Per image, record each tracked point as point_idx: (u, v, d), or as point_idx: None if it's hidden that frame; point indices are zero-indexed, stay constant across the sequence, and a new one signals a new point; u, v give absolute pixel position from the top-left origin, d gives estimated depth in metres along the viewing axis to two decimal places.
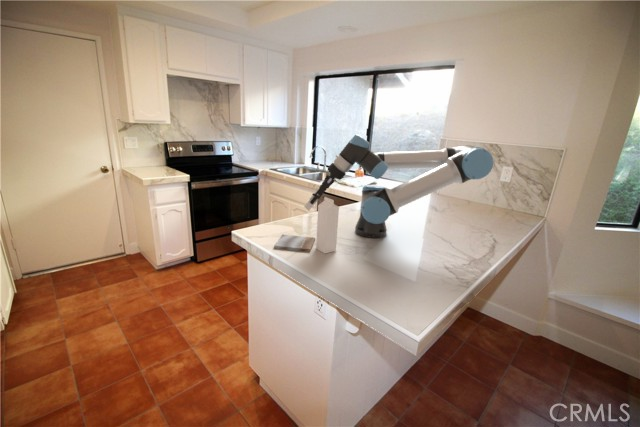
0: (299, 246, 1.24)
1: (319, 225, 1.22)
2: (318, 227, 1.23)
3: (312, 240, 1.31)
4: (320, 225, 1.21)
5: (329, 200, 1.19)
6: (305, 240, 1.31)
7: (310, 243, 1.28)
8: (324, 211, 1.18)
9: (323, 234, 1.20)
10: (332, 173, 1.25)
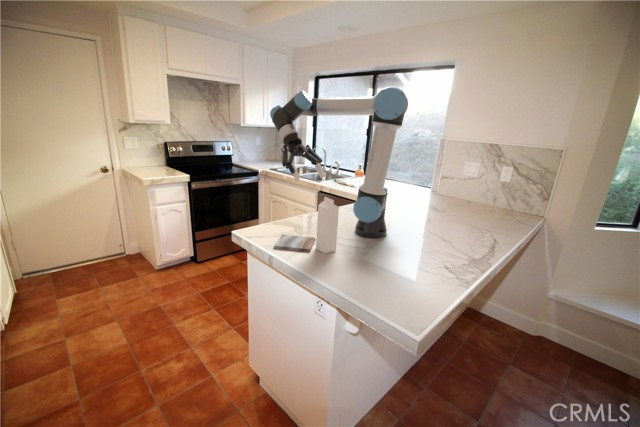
0: (299, 246, 1.24)
1: (319, 225, 1.22)
2: (318, 227, 1.23)
3: (312, 240, 1.31)
4: (320, 225, 1.21)
5: (329, 200, 1.19)
6: (305, 240, 1.31)
7: (310, 243, 1.28)
8: (324, 211, 1.18)
9: (323, 234, 1.20)
10: (285, 145, 1.28)
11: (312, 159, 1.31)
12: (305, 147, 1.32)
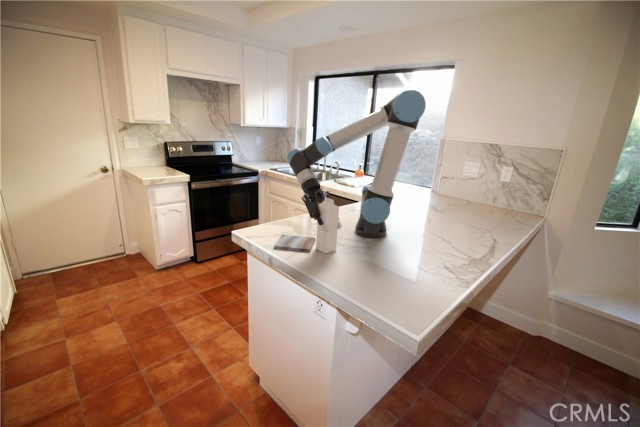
0: (299, 246, 1.24)
1: (319, 225, 1.22)
2: (318, 227, 1.23)
3: (312, 240, 1.31)
4: (320, 225, 1.21)
5: (329, 200, 1.19)
6: (305, 240, 1.31)
7: (310, 243, 1.28)
8: (324, 211, 1.18)
9: (323, 234, 1.20)
10: (304, 190, 1.24)
11: None
12: (324, 193, 1.28)
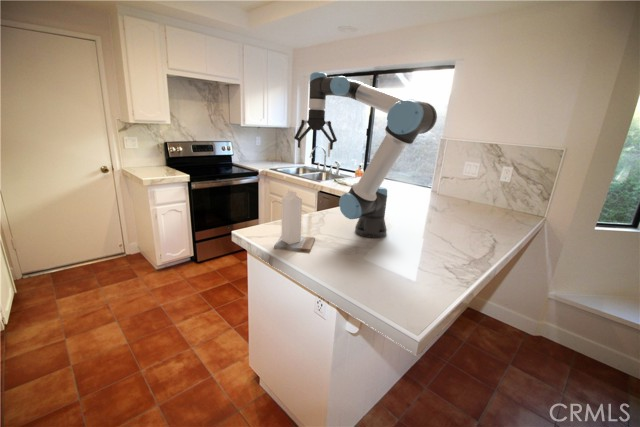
0: (299, 246, 1.24)
1: (283, 217, 1.25)
2: (282, 219, 1.26)
3: (312, 240, 1.31)
4: (284, 217, 1.25)
5: (292, 192, 1.23)
6: (305, 240, 1.31)
7: (310, 243, 1.28)
8: (287, 203, 1.22)
9: (287, 226, 1.24)
10: None
11: (327, 137, 1.42)
12: (326, 122, 1.40)
